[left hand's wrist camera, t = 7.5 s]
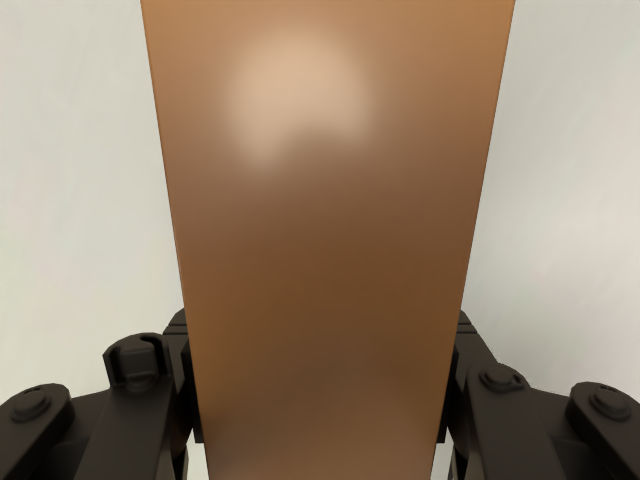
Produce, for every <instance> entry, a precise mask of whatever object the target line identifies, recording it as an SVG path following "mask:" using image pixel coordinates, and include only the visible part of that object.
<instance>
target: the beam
mask: <svg viewBox="0 0 640 480" xmlns="http://www.w3.org/2000/svg"><path fill="white" fill-rule="evenodd" d="M140 2H141V9H142V16H143V23H144V30H145V37H146V44H147V51H148V58H149V65H150V71H151V78H152V85H153V92H154V99H155V106H156V113H157V120H158V127H159V134H160V141H161V148H162V155H163V162H164V169H165V176H166V183H167V190H168V197H169V204H170V211H171V218H172V225H173V232H174V239H175V246H176V253H177V260H178V267H179V274H180V281H181V288H182V295H183V301H184V308H185V315H186V322H187V329H188V336H189V343H190V350H191V357H192V364H193V371H194V378H195V385H196V392H197V399H198V406H199V413H200V420H201V427H202V434H203V441H204V448H205V455H206V462H207V469H208V476H209V480H430V477H431V472H432V466H433V460H434V455H435V449H436V444H437V438H438V432H439V427H440V421H441V415H442V410H443V404H444V399H445V393H446V387H447V382H448V376H449V370H450V365H451V359H452V354H453V348H454V342H455V337H456V331H457V325H458V320H459V314H460V309H461V303H462V297H463V292H464V286H465V280H466V275H467V269H468V263H469V258H470V252H471V247H472V241H473V235H474V230H475V224H476V218H477V213H478V207H479V202H480V196H481V190H482V185H483V179H484V173H485V168H486V162H487V157H488V151H489V145H490V140H491V134H492V128H493V123H494V117H495V112H496V106H497V100H498V95H499V89H500V83H501V78H502V72H503V66H504V61H505V55H506V50H507V44H508V38H509V33H510V27H511V21H512V16H513V10H514V5H515V0H140Z"/></svg>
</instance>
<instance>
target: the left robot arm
mask: <svg viewBox="0 0 640 480" xmlns="http://www.w3.org/2000/svg"><path fill="white" fill-rule="evenodd" d="M103 359H104V363H105V367H106V371H107V375H108V378H109V382H110V388H109V389H108V390H105V391H101V392H97V393H93V394H89V395H84V396H80V397H75V398H71V396H70V393H69V390H68V389H67V388H66V387H65V386H64V385H61V384H55V383H51V384H43V385H38V386H35V387H32V388H29V389H26V390H24V391H22V392H20V393H18V394H16V395H14V396H13V397H11V398H10V399H8V400H7V401H6V402H4V403H3V404H2V405H1V406H0V480H187V471H188V461H189V458H188V451H187V445H186V443H187V441H188V438H189V435H190V433H191V430H192V428H193V433H194V438H195V443H204V441H203V434H202V427H201V420H200V413H199V406H198V399H197V392H196V385H195V378H194V371H193V364H192V357H191V350H190V343H189V336H188V329H187V322H186V315H185V308H183V309H181V310H180V311H179V312H177V313H176V314H175V315H174V317H173V318H172V320H171V321H170V323H169V324H168V326H167V327H166V329H165V330H164V332H163V335H161V334H157V333H139V334H135V335H130V336H128V337H125V338H123V339H121V340H118V341H117V342H115V343H114V344H113V345H111V346H110V347H108V349H107V350H106V351H105V352H104V354H103ZM447 427H448V429H449V432H450V434H451V437H452V439H453V442H454V445H453V451H452V456H451V462H450V467H449V473H448V480H640V404H639V403H638V402H637V401H635V400H634V399H633V398H632V397H630V396H629V395H627V394H625V393H623V392H621V391H619V390H617V389H616V388H613V387H610V386H607V385H604V384H601V383H594V382H582V383H577V384H576V385H575V386H573V387H572V389H571V392H570V395H569V397H567V396H563V395H558V394H554V393H549V392H545V391H541V390H537V389H534V388H531V387H530V385H529V384H528V382H527V381H526V379H525V378H524V377H523V376H522V375H521V374H520V373H518V372H517V371H516V370H514V369H512V368H510V367H508V366H506V365H504V364H501V363H498V362H497V360H496V359H495V357H494V356H493V354H492V353H491V351H490V350H489V348H488V347H487V345H486V344H485V342H484V341H483V339H482V338H481V337H480V335H479V334H477V331H476V329H475V328H474V326H473V325H472V324H471V322H470V320H469V319H468V317H467V316H466V314H465V313H464V312H463V311H462V310H460V314H459V320H458V325H457V331H456V337H455V342H454V348H453V354H452V359H451V365H450V370H449V376H448V382H447V387H446V393H445V399H444V404H443V410H442V415H441V421H440V427H439V432H438V438H437V443H445V437H446V431H447Z"/></svg>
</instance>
